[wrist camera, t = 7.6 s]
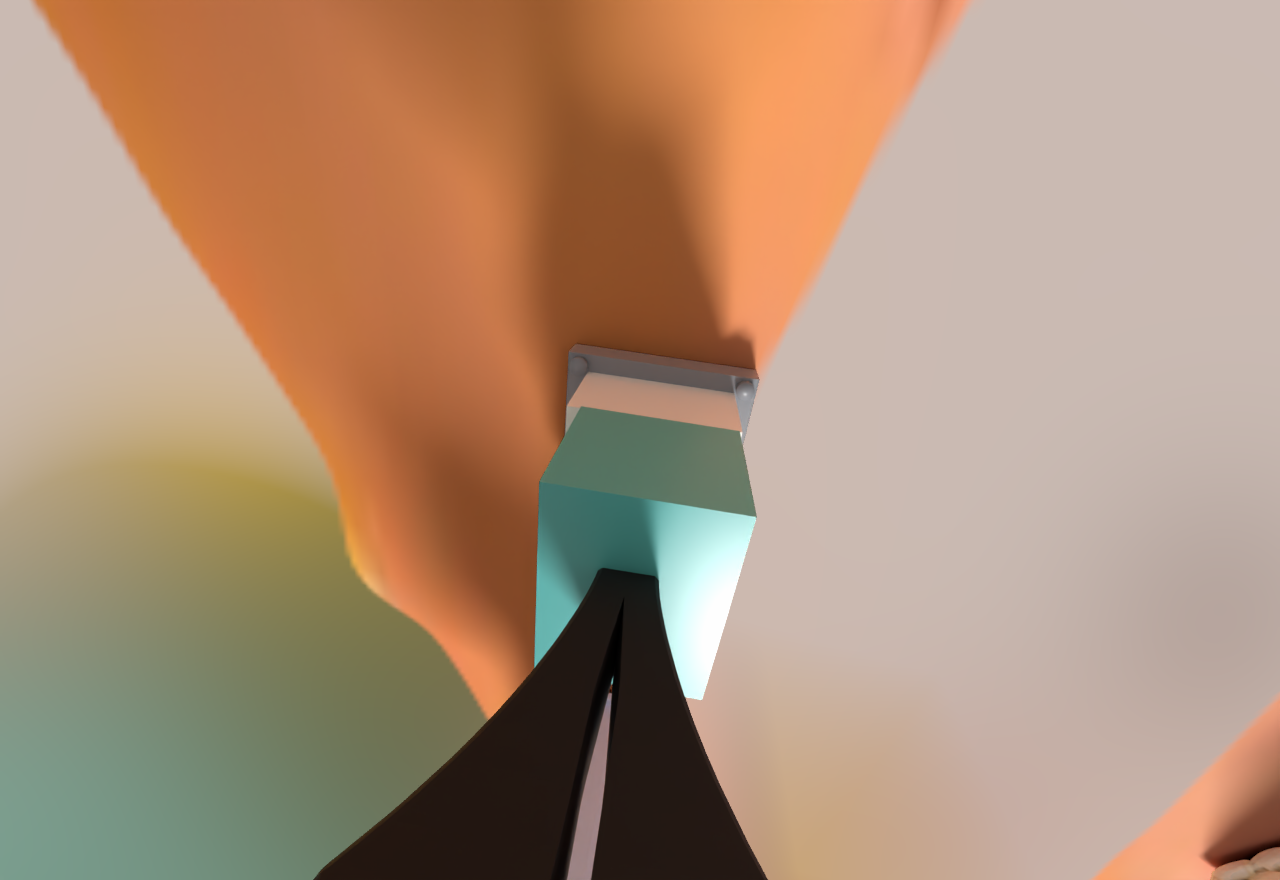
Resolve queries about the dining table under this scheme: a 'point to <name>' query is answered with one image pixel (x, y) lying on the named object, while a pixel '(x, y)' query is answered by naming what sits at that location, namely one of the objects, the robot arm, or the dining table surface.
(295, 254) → the dining table surface
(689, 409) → the cream brick
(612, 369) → the baseplate
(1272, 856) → the storage basket
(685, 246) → the dining table surface
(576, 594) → the teal brick
